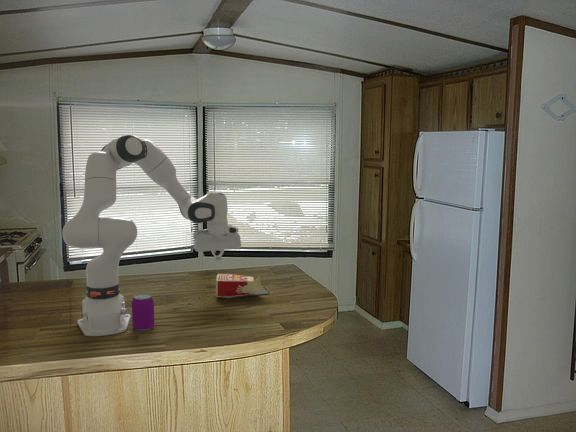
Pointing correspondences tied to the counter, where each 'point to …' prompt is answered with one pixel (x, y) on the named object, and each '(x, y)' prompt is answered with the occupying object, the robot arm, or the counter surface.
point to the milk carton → (236, 285)
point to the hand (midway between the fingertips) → (217, 260)
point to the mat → (252, 294)
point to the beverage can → (143, 312)
